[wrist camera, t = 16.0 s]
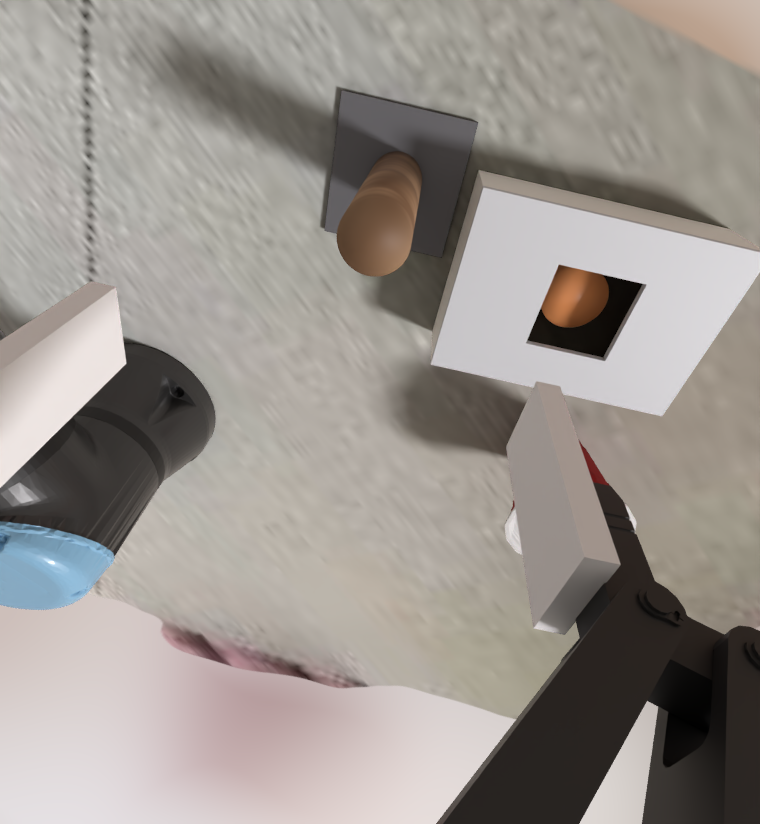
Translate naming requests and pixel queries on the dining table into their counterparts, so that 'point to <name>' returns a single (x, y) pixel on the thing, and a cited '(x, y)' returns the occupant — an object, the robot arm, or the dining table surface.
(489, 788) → the robot arm
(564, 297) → the orange dome button
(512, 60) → the dining table surface
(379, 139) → the pad
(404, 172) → the wooden rod
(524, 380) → the box
